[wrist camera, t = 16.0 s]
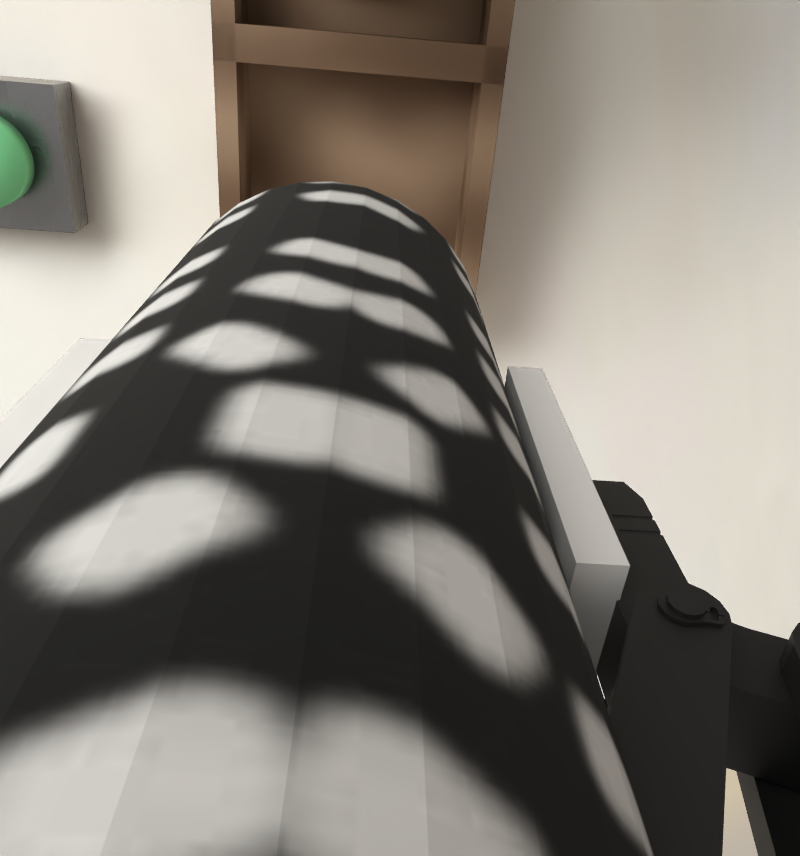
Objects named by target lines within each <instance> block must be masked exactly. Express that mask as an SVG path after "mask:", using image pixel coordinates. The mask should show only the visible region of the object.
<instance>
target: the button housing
mask: <svg viewBox="0 0 800 856" xmlns="http://www.w3.org/2000/svg"><path fill="white" fill-rule="evenodd" d="M0 116H1V117H2V118H4V119H5V120H7V121H8V122H10V123H11V124H12V125H13V126H14V127H15V128H16V129H17V130H18V131H19V132H20V133H21V135H22V136H23V137H24V139H25V140H26V142H27V144H28V146H29V148H30V150H31V153H32V156H33V161H34V177H33V181H32V184H31V186H30V188H29V190H28V191H27V192H26V194H25V195H24V196H22V197H21V198H20V199H18V200H16V201H14V202H12V203H10V204H8V205H6V206H4V207H1V208H0V228H14V229H28V230H41V231H55V232H69V233H75V232H76V231H78V230H79V229H81V228H82V227H84V226H85V225H87V224H88V219H87V211H86V203H85V196H84V188H83V181H82V173H81V165H80V158H79V150H78V143H77V135H76V127H75V120H74V112H73V104H72V97H71V89H70V82H66V81H54V80H42V79H30V78H18V77H6V76H0Z"/></svg>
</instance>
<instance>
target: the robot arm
mask: <svg viewBox="0 0 800 856" xmlns="http://www.w3.org/2000/svg"><path fill="white" fill-rule="evenodd" d="M110 341H111V340H100V339H85V338H80V339H79V340H78V341H77V342H76V343H75V344H74V345H73V346H72V347H71V348H70V349H69V351H68V352H67V353H66V354H65V355H64V356H63V357H62V358H61V359H60V360H59V361H58V362H57V363H56V364H55V365H54V366H53V367H52V368H51V369H50V370H49V371H48V372H47V373H46V374H45V375H44V376H43V377H42V378H41V379H40V380H39V381H38V382H37V383H36V384H35V385H34V386H33V387H32V388H31V390H30V391H29V392H28V393H27V394H26V395H25V396H24V397H23V398H22V399H21V400H20V401H19V402H18V403H17V404H16V405H15V406H14V407H13V408H12V409H11V410H10V411H9V412H8V413H7V414H6V415H5V416H4V417H3V418H2V419H1V420H0V468H1V466H2V465H3V464H4V463H5V462H6V461H7V460H8V458H9V457H10V456H11V455H12V454H13V453H14V452H15V450H16V449H17V448H18V447H19V446H20V445H21V444H22V442H23V441H24V440H25V439H26V438H27V437H28V436H29V434H30V433H31V432H32V431H33V430H34V429H35V428H36V426H37V425H38V424H39V423H40V422H41V421H42V419H43V418H44V417H45V416H46V415H47V414H48V413H49V411H50V410H51V409H52V408H53V407H54V406H55V405H56V403H57V402H58V401H59V400H60V399H61V398H62V397H63V395H64V394H65V393H66V392H67V391H68V390H69V389H70V387H71V386H72V385H73V384H74V383H75V382H76V380H77V379H78V378H79V377H80V376H81V375H82V374H83V372H84V371H85V370H86V369H87V368H88V367H89V366H90V364H91V363H92V362H93V361H94V360H95V359H96V358H97V356H98V355H99V354H100V353H101V352H102V351H103V350H104V348H105V347H106V346H107V345H108V344H109V343H110ZM505 390H506V393H507V396H508V399H509V403H510V406H511V409H512V412H513V415H514V418H515V421H516V425H517V428H518V431H519V434H520V437H521V440H522V443H523V446H524V450H525V453H526V456H527V459H528V462H529V465H530V468H531V472H532V475H533V478H534V481H535V484H536V487H537V490H538V494H539V497H540V500H541V503H542V506H543V509H544V512H545V515H546V519H547V522H548V525H549V528H550V531H551V534H552V537H553V541H554V544H555V547H556V550H557V553H558V556H559V559H560V562H561V566H562V569H563V572H564V575H565V578H566V581H567V584H568V588H569V591H570V594H571V597H572V600H573V603H574V606H575V609H576V613H577V616H578V619H579V622H580V625H581V628H582V631H583V635H584V638H585V641H586V644H587V647H588V650H589V653H590V656H591V660H592V663H593V666H594V669H595V672H596V675H598V678H599V681H600V684H601V687H602V690H603V693H604V696H605V703H606V707H607V710H608V713H609V716H610V719H611V722H612V725H613V729H614V732H615V735H616V738H617V741H618V744H619V747H620V751H621V754H622V757H623V760H624V763H625V766H626V769H627V772H628V776H629V779H630V782H631V785H632V788H633V791H634V794H635V798H636V801H637V804H638V807H639V810H640V813H641V816H642V819H643V823H644V826H645V829H646V832H647V835H648V838H649V841H650V845H651V848H652V851H653V854H654V856H722V845H723V824H724V802H725V780H726V768H729V769H732V770H735V771H737V775H738V779H739V783H740V787H741V791H742V794H743V798H744V802H745V806H746V810H747V814H748V818H749V822H750V825H751V829H752V833H753V837H754V841H755V845H756V848H757V852H758V856H800V623H798V624H797V626H796V627H795V629H794V630H793V632H792V634H791V636H790V638H789V640H787V639H784V638H780V637H777V636H773V635H769V634H766V633H762V632H758V631H755V630H751V629H748V628H745V627H742V626H739V625H737V624H734V623H732V622H731V619H730V615H729V613H728V611H727V610H726V609H725V608H724V606H723V605H722V604H721V603H720V601H718V600H717V599H716V598H714V597H713V596H712V595H710V594H709V593H708V592H706V591H705V590H702V589H700V588H698V587H696V586H693V585H691V584H689V583H688V582H687V580H686V578H685V576H684V575H683V573H682V571H681V569H680V567H679V565H678V563H677V561H676V560H675V558H674V556H673V554H672V552H671V550H670V548H669V547H668V545H667V543H666V541H665V539H664V537H663V535H660V530H659V528H658V526H657V524H656V522H655V520H652V515H651V513H650V511H649V509H648V507H647V505H646V504H645V502H644V500H643V498H642V497H640V496H639V495H638V494H637V493H636V492H635V491H633V490H632V489H631V488H630V487H629V486H628V485H626V484H625V483H624V482H614V481H597V480H592V479H591V477H590V475H589V472H588V470H587V468H586V466H585V463H584V461H583V459H582V457H581V454H580V452H579V450H578V448H577V445H576V443H575V441H574V439H573V436H572V434H571V432H570V430H569V427H568V425H567V423H566V421H565V418H564V416H563V414H562V412H561V409H560V407H559V405H558V403H557V400H556V398H555V396H554V394H553V391H552V389H551V387H550V385H549V382H548V380H547V378H546V376H545V373H544V371H543V369H540V368H525V367H510V366H508V370H507V376H506V382H505Z"/></svg>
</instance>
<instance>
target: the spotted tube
mask: <svg viewBox="0 0 800 856" xmlns="http://www.w3.org/2000/svg"><path fill="white" fill-rule="evenodd" d="M0 856H654V854H653V851H652V848H651V845H650V841H649V838H648V835H647V832H646V829H645V826H644V823H643V819H642V816H641V813H640V810H639V807H638V804H637V801H636V798H635V794H634V791H633V788H632V785H631V782H630V779H629V776H628V772H627V769H626V766H625V763H624V760H623V757H622V754H621V751H620V747H619V744H618V741H617V738H616V735H615V732H614V729H613V725H612V722H611V719H610V716H609V713H608V710H607V707H606V703H605V700H604V697H603V694H602V691H601V688H600V685H599V682H598V678H597V675H596V672H595V669H594V666H593V663H592V660H591V656H590V653H589V650H588V647H587V644H586V641H585V638H584V635H583V631H582V628H581V625H580V622H579V619H578V616H577V613H576V609H575V606H574V603H573V600H572V597H571V594H570V591H569V588H568V584H567V581H566V578H565V575H564V572H563V569H562V566H561V562H560V559H559V556H558V553H557V550H556V547H555V544H554V541H553V537H552V534H551V531H550V528H549V525H548V522H547V519H546V515H545V512H544V509H543V506H542V503H541V500H540V497H539V494H538V490H537V487H536V484H535V481H534V478H533V475H532V472H531V468H530V465H529V462H528V459H527V456H526V453H525V450H524V446H523V443H522V440H521V437H520V434H519V431H518V428H517V425H516V421H515V418H514V415H513V412H512V409H511V406H510V403H509V399H508V396H507V393H506V390H505V387H504V384H503V381H502V378H501V374H500V371H499V368H498V365H497V362H496V359H495V356H494V352H493V349H492V346H491V343H490V340H489V337H488V334H487V331H486V327H485V324H484V321H483V318H482V315H481V312H480V309H479V305H478V302H477V299H476V296H475V293H474V291H473V288H472V286H471V283H470V281H469V278H468V275H467V273H466V270H465V268H464V266H463V264H462V263H461V261H460V260H459V258H458V257H457V255H456V254H455V252H454V251H453V249H452V248H451V246H450V245H449V243H448V242H447V240H446V239H445V238H444V237H443V236H442V235H441V234H440V233H439V232H438V231H437V230H436V229H435V228H434V227H433V226H432V225H431V224H430V223H429V222H428V221H427V220H426V219H425V218H424V217H422V216H420V215H419V214H417V213H416V212H414V211H413V210H411V209H410V208H408V207H407V206H405V205H404V204H402V203H401V202H399V201H398V200H396V199H393V198H391V197H388V196H386V195H383V194H381V193H378V192H376V191H373V190H371V189H368V188H365V187H360V186H355V185H349V184H344V183H338V182H299V183H295V184H290V185H286V186H282V187H277V188H273V189H269V190H266V191H264V192H262V193H260V194H258V195H256V196H254V197H251V198H249V199H247V200H245V201H243V202H241V203H239V204H238V205H236V206H235V207H234V208H232V209H231V210H230V211H228V212H227V213H226V214H225V215H223V216H222V217H221V218H219V219H218V220H217V221H215V222H214V223H213V225H212V226H211V227H210V228H209V229H208V230H207V231H206V233H205V234H204V235H203V236H202V237H201V238H200V239H199V241H198V242H197V243H196V244H195V245H194V246H193V247H192V249H191V250H190V251H189V252H188V253H187V254H186V255H185V257H184V258H183V259H182V260H181V261H180V262H179V264H178V265H177V266H176V267H175V268H174V269H173V270H172V272H171V273H170V274H169V275H168V276H167V277H166V278H165V280H164V281H163V282H162V283H161V284H160V285H159V286H158V288H157V289H156V290H155V291H154V292H153V293H152V294H151V296H150V297H149V298H148V299H147V300H146V301H145V303H144V304H143V305H142V306H141V307H140V308H139V309H138V311H137V312H136V313H135V314H134V315H133V316H132V317H131V319H130V320H129V321H128V322H127V323H126V324H125V325H124V327H123V328H122V329H121V330H120V331H119V332H118V333H117V335H116V336H115V337H114V338H113V339H112V340H111V341H110V343H109V344H108V345H107V346H106V347H105V348H104V350H103V351H102V352H101V353H100V354H99V355H98V356H97V358H96V359H95V360H94V361H93V362H92V363H91V364H90V366H89V367H88V368H87V369H86V370H85V371H84V372H83V374H82V375H81V376H80V377H79V378H78V379H77V380H76V382H75V383H74V384H73V385H72V386H71V387H70V389H69V390H68V391H67V392H66V393H65V394H64V395H63V397H62V398H61V399H60V400H59V401H58V402H57V403H56V405H55V406H54V407H53V408H52V409H51V410H50V411H49V413H48V414H47V415H46V416H45V417H44V418H43V419H42V421H41V422H40V423H39V424H38V425H37V426H36V428H35V429H34V430H33V431H32V432H31V433H30V434H29V436H28V437H27V438H26V439H25V440H24V441H23V442H22V444H21V445H20V446H19V447H18V448H17V449H16V450H15V452H14V453H13V454H12V455H11V456H10V457H9V458H8V460H7V461H6V462H5V463H4V464H3V465H2V466H1V468H0Z"/></svg>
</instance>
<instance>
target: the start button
mask: <svg viewBox="0 0 800 856" xmlns="http://www.w3.org/2000/svg"><path fill="white" fill-rule="evenodd" d="M33 177H34V161H33V156H32V153H31V150H30V148H29V146H28V144H27V142H26V140H25V139H24V137H23V136H22V135H21V133H20V132H19V131H18V130H17V129H16V128H15V127H14V126H13V125H12V124H11V123H10V122H8V121H7V120H5V119H4V118H2V117H1V116H0V208H1V207H4V206H6V205H8V204H10V203H12V202H14V201H16V200H18V199H20V198H21V197H22V196H24V195H25V194H26V192H27V191H28V190H29V188H30V186H31V184H32V181H33Z"/></svg>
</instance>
